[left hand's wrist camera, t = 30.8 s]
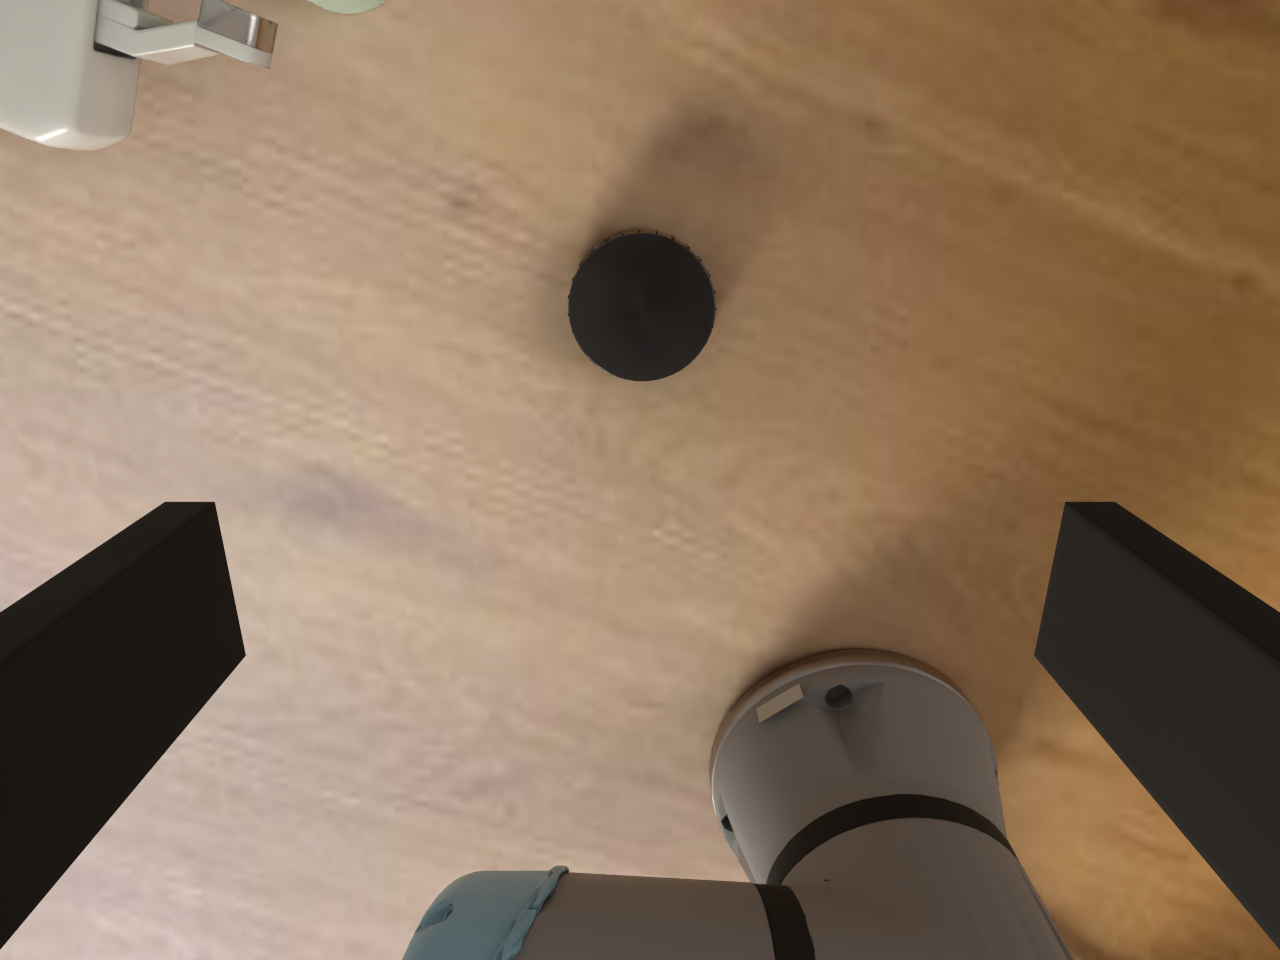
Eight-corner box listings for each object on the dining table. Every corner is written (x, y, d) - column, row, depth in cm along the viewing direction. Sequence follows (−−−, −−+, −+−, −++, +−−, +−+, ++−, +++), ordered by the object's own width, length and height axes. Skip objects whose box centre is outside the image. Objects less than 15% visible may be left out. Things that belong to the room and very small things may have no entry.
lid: (704, 377, 37) (708, 388, 35) (567, 366, 37) (563, 377, 35) (721, 234, 34) (726, 238, 32) (574, 221, 34) (570, 224, 32)
